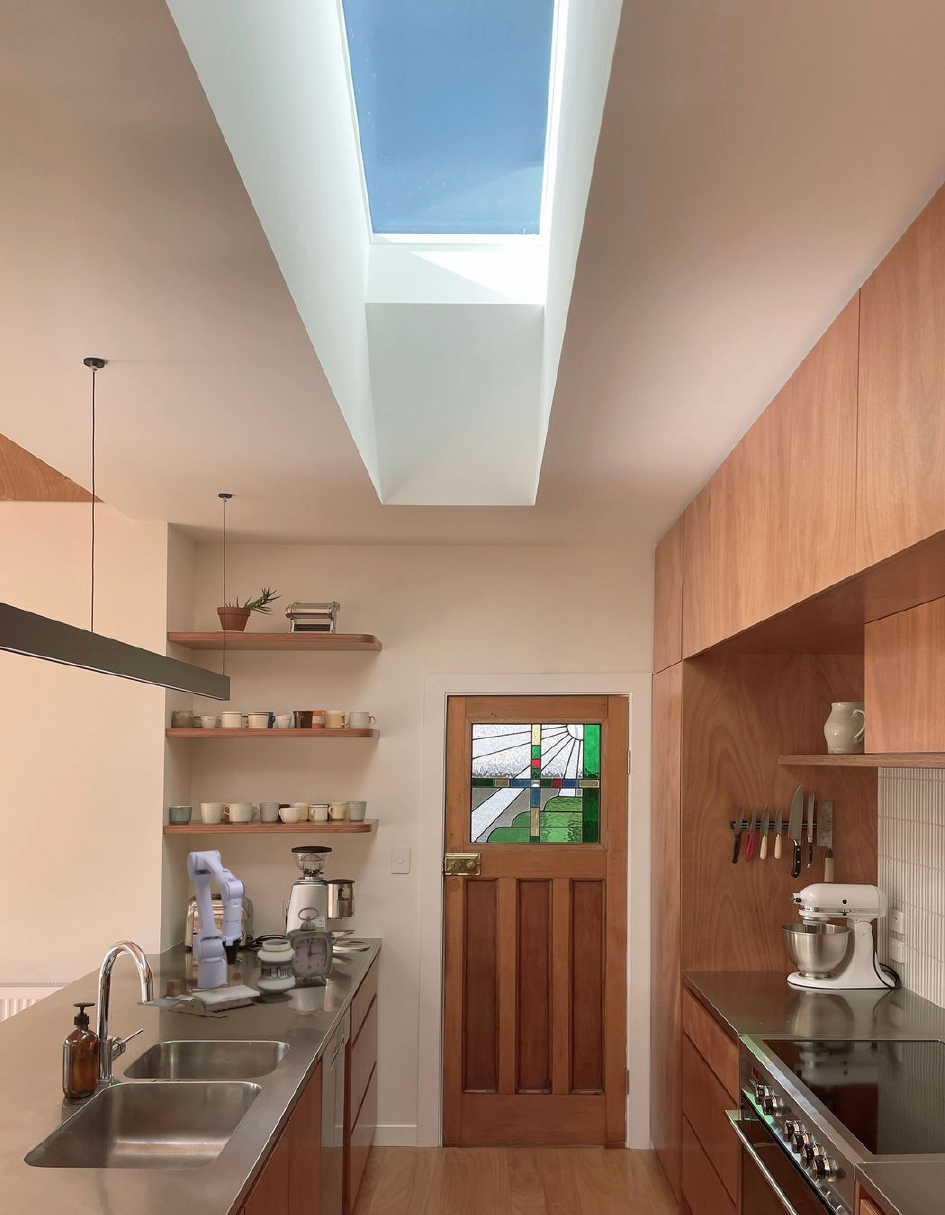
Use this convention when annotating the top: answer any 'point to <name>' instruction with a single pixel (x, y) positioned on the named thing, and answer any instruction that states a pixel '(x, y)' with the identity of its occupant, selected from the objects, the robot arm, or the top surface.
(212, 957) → the robot arm
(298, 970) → the tabletop clock
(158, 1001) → the slate pad
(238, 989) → the packaged product
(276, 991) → the apothecary jar
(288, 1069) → the top surface
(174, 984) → the brown and white block
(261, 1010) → the top surface
